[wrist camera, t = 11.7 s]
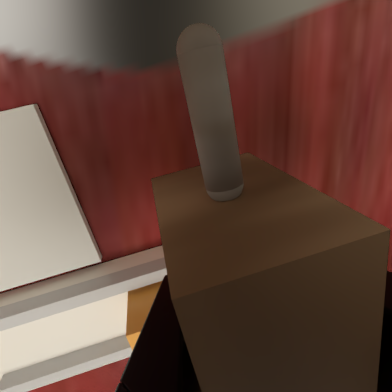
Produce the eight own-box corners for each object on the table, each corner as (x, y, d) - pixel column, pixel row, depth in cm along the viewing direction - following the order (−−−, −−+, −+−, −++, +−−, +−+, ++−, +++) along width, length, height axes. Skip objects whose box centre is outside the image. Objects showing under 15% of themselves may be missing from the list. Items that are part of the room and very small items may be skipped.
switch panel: (235, 223, 19) (250, 242, 17) (247, 287, 22) (261, 312, 19) (-59, 311, 17) (-91, 347, 15) (-11, 371, 20) (-32, 411, 17)
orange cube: (187, 266, 18) (200, 311, 14) (198, 307, 19) (212, 356, 16) (128, 285, 18) (125, 336, 14) (144, 324, 19) (145, 380, 15)
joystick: (231, 34, 7) (415, -77, 2) (268, 300, 10) (370, 461, 6) (115, 59, 7) (68, -13, 2) (194, 325, 10) (242, 515, 6)
